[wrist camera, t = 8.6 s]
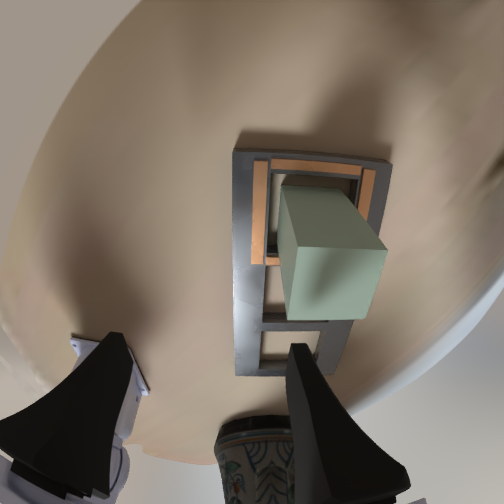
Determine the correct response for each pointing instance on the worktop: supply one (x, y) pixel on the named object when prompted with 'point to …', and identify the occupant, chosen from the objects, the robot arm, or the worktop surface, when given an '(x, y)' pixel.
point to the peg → (326, 255)
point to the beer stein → (257, 460)
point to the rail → (261, 255)
